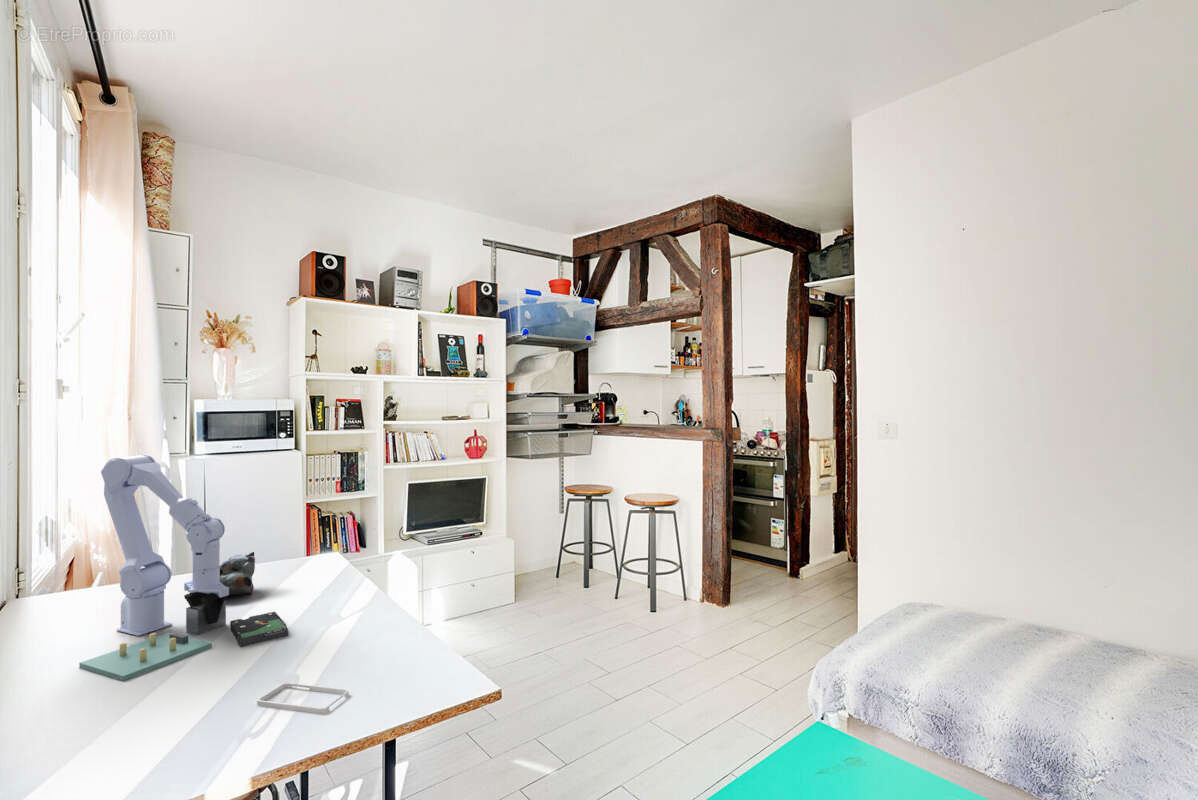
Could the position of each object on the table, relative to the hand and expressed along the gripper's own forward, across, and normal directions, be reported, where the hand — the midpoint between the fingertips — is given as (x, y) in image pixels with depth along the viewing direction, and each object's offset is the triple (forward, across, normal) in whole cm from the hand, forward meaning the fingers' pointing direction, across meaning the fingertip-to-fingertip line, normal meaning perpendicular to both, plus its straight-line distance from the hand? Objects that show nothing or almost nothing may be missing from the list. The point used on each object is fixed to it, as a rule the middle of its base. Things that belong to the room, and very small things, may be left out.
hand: (206, 621), depth 147 cm
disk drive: (+2, +15, +3) cm, 16 cm away
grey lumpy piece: (+2, -20, +19) cm, 28 cm away
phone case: (+2, +54, -16) cm, 56 cm away
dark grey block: (+2, 0, 0) cm, 2 cm away
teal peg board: (+2, +5, -16) cm, 17 cm away
